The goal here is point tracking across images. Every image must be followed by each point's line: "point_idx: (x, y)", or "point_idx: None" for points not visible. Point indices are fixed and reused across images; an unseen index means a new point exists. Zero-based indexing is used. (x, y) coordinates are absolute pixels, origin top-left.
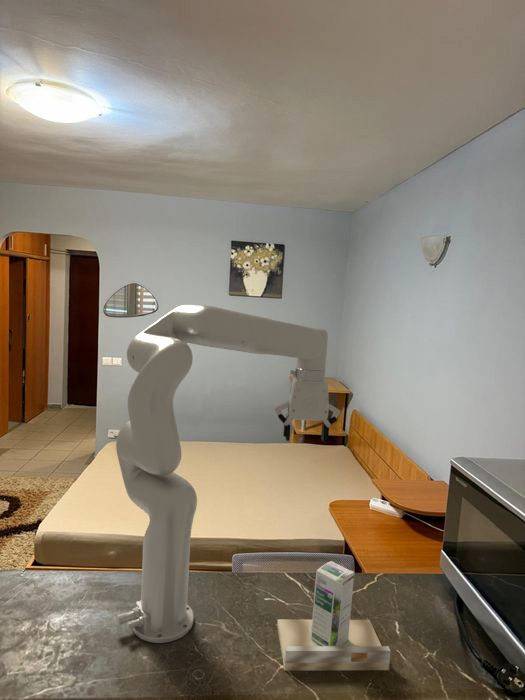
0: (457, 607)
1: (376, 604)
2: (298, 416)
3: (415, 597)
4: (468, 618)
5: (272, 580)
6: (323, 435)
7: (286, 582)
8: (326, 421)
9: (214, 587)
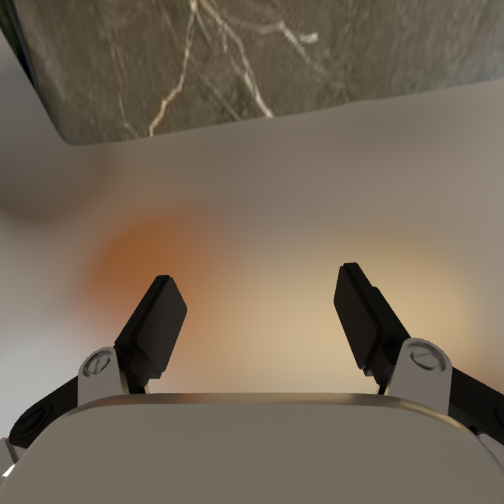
0: (28, 66)
1: (142, 52)
2: (381, 446)
3: (90, 86)
4: (4, 31)
5: (297, 102)
6: (161, 303)
7: (277, 99)
8: (95, 393)
9: (394, 61)
